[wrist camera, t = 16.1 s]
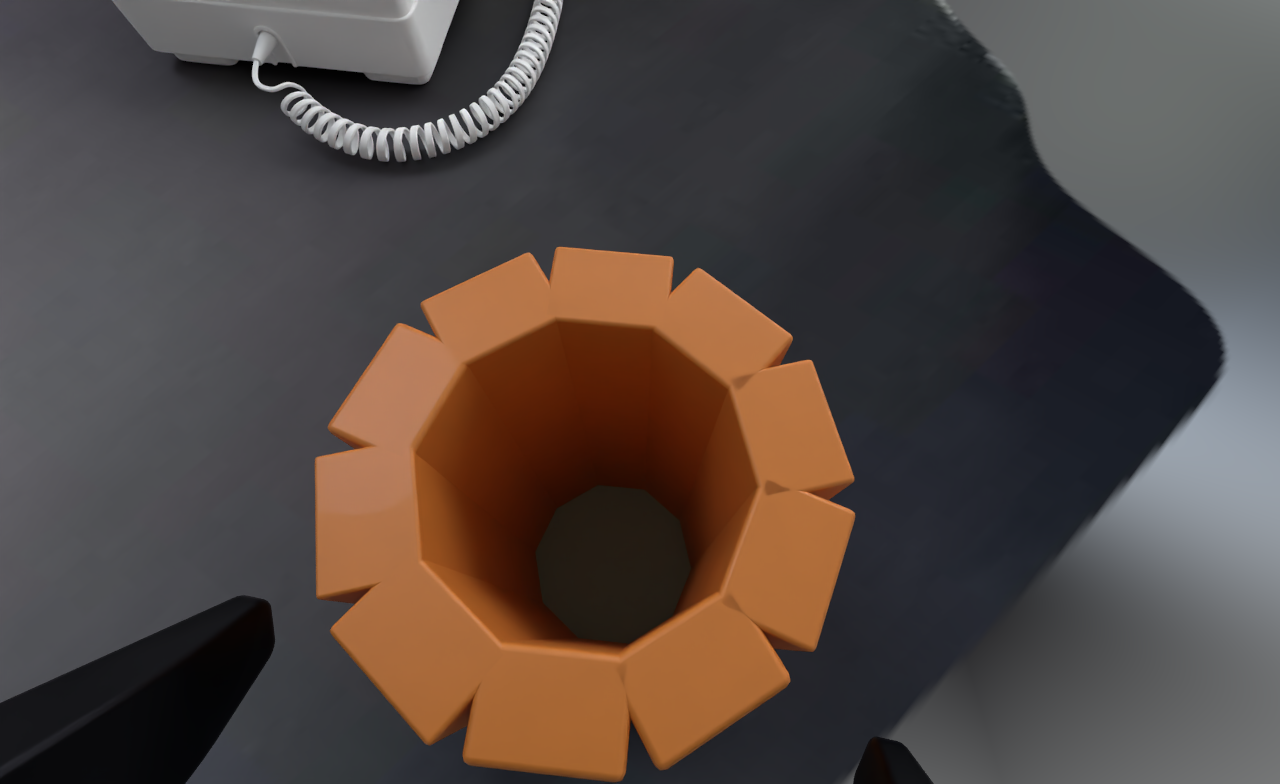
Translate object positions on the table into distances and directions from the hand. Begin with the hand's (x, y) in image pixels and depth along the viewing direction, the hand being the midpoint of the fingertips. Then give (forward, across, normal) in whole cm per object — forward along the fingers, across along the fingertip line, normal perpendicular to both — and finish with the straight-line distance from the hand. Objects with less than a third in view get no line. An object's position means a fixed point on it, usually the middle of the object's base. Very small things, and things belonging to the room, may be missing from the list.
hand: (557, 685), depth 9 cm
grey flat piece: (+7, 0, +3) cm, 8 cm away
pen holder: (+7, 0, +3) cm, 7 cm away
